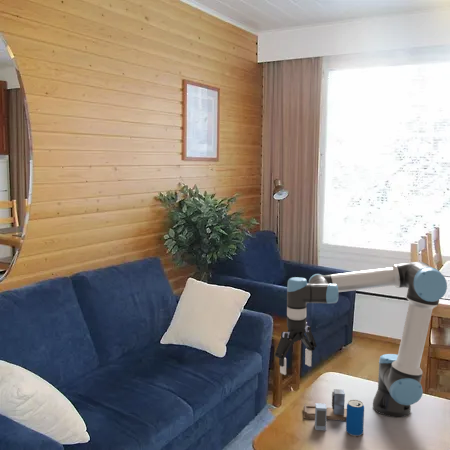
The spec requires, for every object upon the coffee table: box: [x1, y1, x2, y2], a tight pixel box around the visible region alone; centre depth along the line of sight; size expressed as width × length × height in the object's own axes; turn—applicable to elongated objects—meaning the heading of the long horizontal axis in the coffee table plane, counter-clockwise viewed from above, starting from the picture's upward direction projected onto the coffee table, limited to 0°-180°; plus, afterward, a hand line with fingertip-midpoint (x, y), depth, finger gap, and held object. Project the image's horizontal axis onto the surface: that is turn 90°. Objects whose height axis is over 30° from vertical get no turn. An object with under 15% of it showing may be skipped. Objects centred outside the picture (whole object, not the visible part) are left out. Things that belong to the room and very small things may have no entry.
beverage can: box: [345, 399, 365, 437], centre depth 196 cm, size 6×6×12 cm
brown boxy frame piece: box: [303, 388, 347, 422], centre depth 209 cm, size 18×7×10 cm, turn 84°
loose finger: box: [314, 402, 328, 431], centre depth 199 cm, size 5×4×9 cm
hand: (295, 369), depth 202 cm, fingers open, 13 cm apart
